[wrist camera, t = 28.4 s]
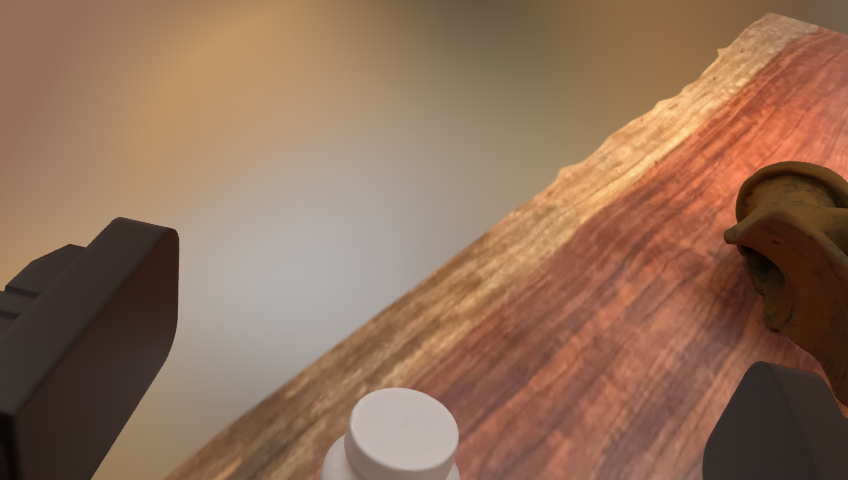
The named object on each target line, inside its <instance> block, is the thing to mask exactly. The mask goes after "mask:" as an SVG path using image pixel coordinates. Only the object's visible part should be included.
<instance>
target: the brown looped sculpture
mask: <svg viewBox="0 0 848 480" xmlns="http://www.w3.org/2000/svg"><path fill="white" fill-rule="evenodd" d="M736 219H737V223H738V224H736V225H735V226H733V227H731V228H729V229H727V230H726V231H725V232H724V239H725V242H726V243H727V244H736V245H737V248H738V250H739V252H740V253H741V255H742V256H744V258H743V260H744V261H743V267H744V269H745V271H746V273H747V275H748V277H749V278H750V279H751V281H752V282H753V284H754V285H755V286H754V287H755V289H756V290H757V291H758V292H759V293H760V294H762V295H764V296H765V297H766V298H765V307H764V317H763V321H764V323H765V325H766V326H767V327H768V328H769V329H770V330H772V331H781V332H782V333H783V334H785V335H786V336H788V337H789V338H790V339H791V340H792V341H794V343H795V344H797V345H798V346H800V347H801V348H802V349H804V350H806V351H807V352H809V353H810V354H811V355H812V356H814V357H815V358H816V360H817V361H818V362H819V363H820V364H821V366H822V368H823V370H824V371H825V373H826V375H827V377H828V379H829V381H830V384H831V386H832V389H833V391H834V393H835V395H836V397H837V398H838V399H839V400H840V401H842V402H843V403H844V404H845V405H846V406H848V183H847V182H846V181H845V180H844V179H843V178H842V177H841V176H840V175H838V174H837V173H835V172H834V171H832V170H830V169H828V168H826V167H822V166H819V165H815V164H811V163H806V162H798V161H786V162H779V163H775V164H772V165H769V166H766V167H764V168H762V169H760V170H759V171H757V172H756V173H755V174H754V175H753V176H751V177H750V178H748V179H747V180H746V181H745V182H744V183H743V185H742V186H741V189H740V191H739V194H738V197H737V201H736Z"/></svg>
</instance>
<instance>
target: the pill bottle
mask: <svg viewBox="0 0 848 480" xmlns="http://www.w3.org/2000/svg"><path fill="white" fill-rule="evenodd" d="M458 441H459V434H458V427H457V424H456V422H455V420H454V418H453V416H452V414H451V413H450V412H449V411H448V410H447V409H446V407H445V406H443V405H442V404H441V403H440V402H438V401H437V400H436V399H434V398H432V397H430V396H429V395H427V394H424V393H422V392H419V391H416V390H412V389H406V388H385V389H380V390H377V391H374V392H372V393H370V394H368V395H366V396H364V397H363V398H362V399H361V400H360V401H358V403H357V404H356V405H355V407H354V408H353V411H352V413H351V415H350V420H349V424H348V428H347V430H346V433H345V434H344V435H343V436H341V437H340V438H339V439H338V440H337V441H336V442H335V443H334V444H333V445H332V447H331V448H330V450H329V451H328V453H327V455H326V457H325V459H324V462H323V465H322V469H321V473H320V476H319V480H461V479H460V475H459V471H458V468H457V466H456V464H455V462H454V459H455V454H456V450H457V446H458Z"/></svg>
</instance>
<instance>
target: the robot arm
mask: <svg viewBox="0 0 848 480" xmlns="http://www.w3.org/2000/svg"><path fill="white" fill-rule="evenodd" d="M178 280H179V237H178V233H177V231H176V230H175V229H172V228H168V227H163V226H159V225H154V224H150V223H145V222H141V221H136V220H131V219H127V218H123V217H118V218H116V219H114V220H113V221H112V222H111V223H110V224H109V225H108V226H107V227H106V228H105V229H104V230H103V231H102V232H101V233H100V234H99V235H98V236H97V237H96V238H95V239H94V240H93V241H92V242H91V243H90V244H89V245H88V246H87V247H86V248H85V247H81V246H77V245H72V244H69V245H66V246H64V247H62V248H60V249H58V250H55V251H53V252H51V253H49V254H47V255H45V256H43V257H40V258H38V259H36V260H34V261H32V262H31V263H30V264H29V265H27V266H26V267H25V268H24V269H23V270H22V271H21V272H20V273H19V274H18V275H17V276H16V277H14V278H13V279H12V280H11V281H10V282H9V283H8V284H7V285H6V286H5V290H4V292H3V291H0V480H91V478H92V477H93V475H94V473H95V472H96V470H97V469H98V467H99V465H100V464H101V462H102V460H103V459H104V458H105V456H106V454H107V453H108V451H109V450H110V448H111V446H112V445H113V443H114V442H115V440H116V439H117V437H118V435H119V434H120V432H121V431H122V429H123V428H124V426H125V424H126V423H127V421H128V420H129V418H130V416H131V415H132V413H133V412H134V410H135V409H136V407H137V405H138V404H139V402H140V401H141V399H142V398H143V396H144V394H145V393H146V391H147V390H148V388H149V386H150V385H151V383H152V382H153V380H154V379H155V377H156V375H157V374H158V372H159V371H160V369H161V367H162V366H163V364H164V362H165V361H166V358H167V357H168V354H169V352H170V349H171V346H172V344H173V340H174V337H175V333H176V327H177V319H178ZM702 471H703V480H848V418H845V417H844V415H843V413H842V412H841V410H840V408H839V406H838V404H837V403H836V401H835V399H834V397H833V395H832V394H831V392H830V390H829V388H828V386H827V385H826V383H825V381H824V380H823V378H822V377H821V376H820V375H818V374H816V373H813V372H808V371H804V370H799V369H795V368H790V367H786V366H781V365H777V364H772V363H768V362H763V361H759V362H756V363H754V364H753V365H752V366H751V367H750V368H749V369H748V370H747V372H746V373H745V375H744V377H743V378H742V380H741V382H740V384H739V386H738V387H737V389H736V391H735V393H734V394H733V396H732V398H731V400H730V401H729V403H728V405H727V407H726V408H725V410H724V412H723V414H722V416H721V417H720V419H719V421H718V423H717V424H716V426H715V428H714V430H713V431H712V433H711V435H710V437H709V439H708V441H707V444H706V447H705V451H704V456H703V467H702Z"/></svg>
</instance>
